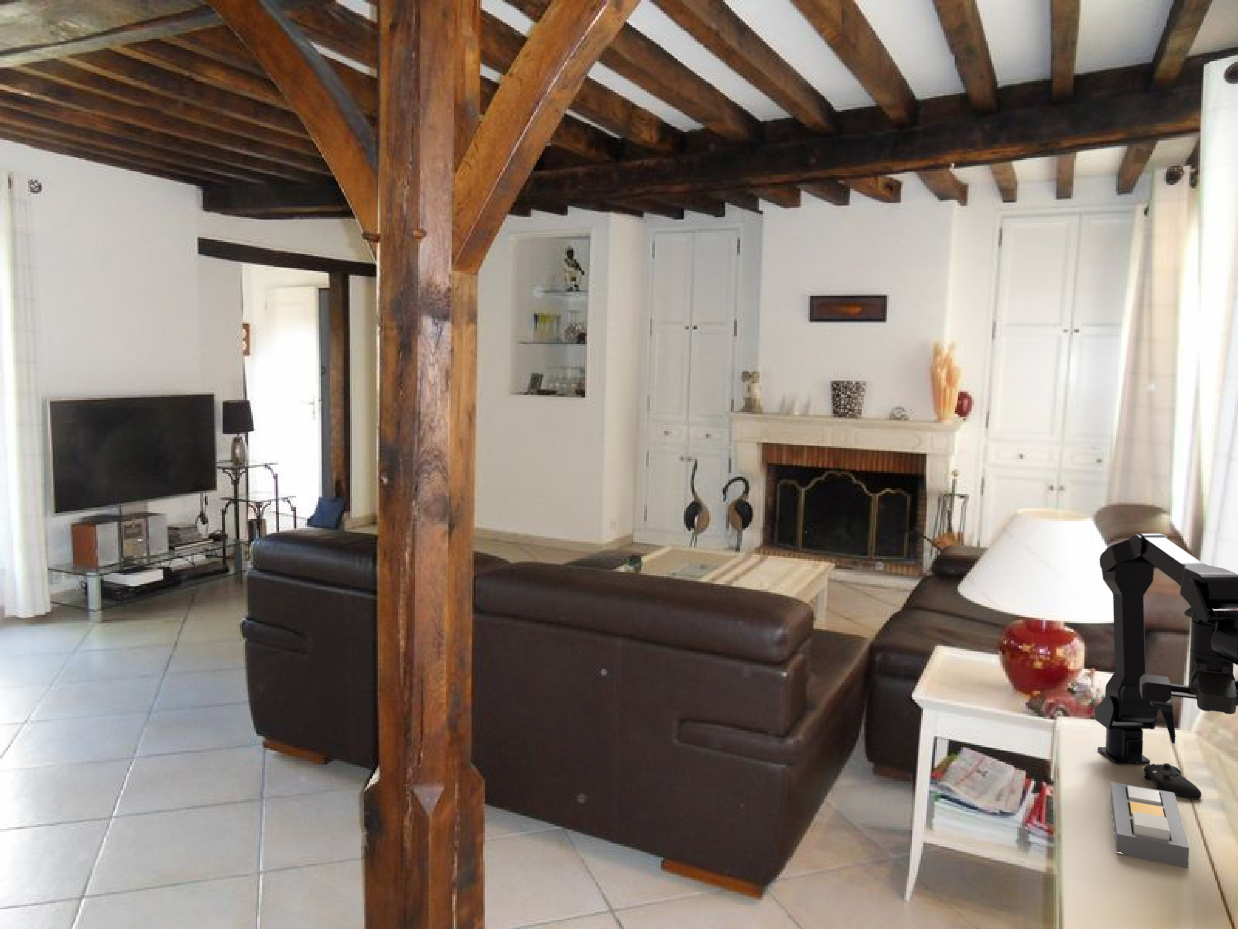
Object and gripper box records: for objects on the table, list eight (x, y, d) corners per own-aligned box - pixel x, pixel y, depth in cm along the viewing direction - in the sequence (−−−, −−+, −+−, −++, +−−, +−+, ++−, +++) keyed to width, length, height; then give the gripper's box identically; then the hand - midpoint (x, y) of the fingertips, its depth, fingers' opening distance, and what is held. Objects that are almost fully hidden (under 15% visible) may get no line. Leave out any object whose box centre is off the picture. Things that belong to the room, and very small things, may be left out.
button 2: (1132, 824, 133) (1132, 811, 133) (1166, 830, 131) (1166, 817, 131) (1134, 837, 129) (1134, 824, 129) (1169, 844, 127) (1169, 830, 127)
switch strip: (1110, 799, 146) (1111, 782, 146) (1173, 810, 142) (1174, 792, 142) (1116, 853, 129) (1117, 834, 129) (1188, 867, 125) (1189, 847, 125)
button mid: (1129, 813, 138) (1129, 801, 138) (1161, 819, 136) (1162, 807, 136) (1131, 825, 134) (1131, 813, 134) (1164, 832, 132) (1165, 819, 132)
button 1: (1126, 797, 144) (1127, 785, 144) (1158, 802, 142) (1158, 790, 142) (1128, 808, 140) (1129, 796, 140) (1160, 814, 138) (1161, 802, 138)
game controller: (1206, 797, 145) (1179, 770, 146) (1180, 817, 146) (1153, 790, 147) (1181, 772, 154) (1156, 747, 155) (1157, 791, 156) (1132, 766, 156)
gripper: (1146, 658, 133) (1142, 756, 135) (1298, 674, 125) (1292, 779, 126) (1141, 639, 143) (1137, 731, 144) (1281, 653, 135) (1275, 751, 136)
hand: (1207, 747), depth 137 cm, fingers open, 9 cm apart
